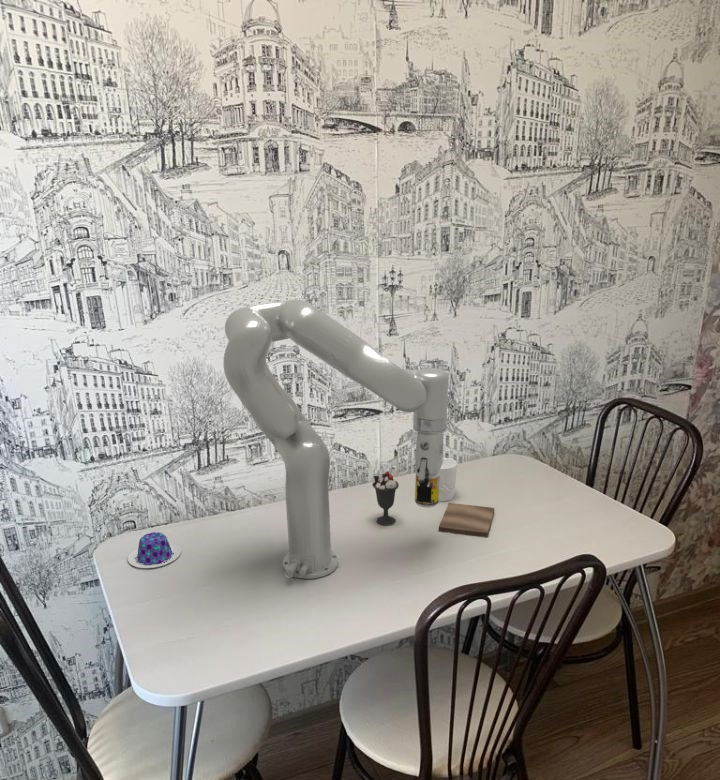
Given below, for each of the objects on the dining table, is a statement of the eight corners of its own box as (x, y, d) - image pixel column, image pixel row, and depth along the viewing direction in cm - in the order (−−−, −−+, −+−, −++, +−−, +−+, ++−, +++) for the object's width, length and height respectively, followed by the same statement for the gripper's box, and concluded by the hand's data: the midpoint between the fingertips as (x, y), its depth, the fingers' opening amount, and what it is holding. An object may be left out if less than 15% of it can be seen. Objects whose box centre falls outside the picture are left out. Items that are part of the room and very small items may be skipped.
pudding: (136, 576, 153) (133, 555, 151) (122, 554, 162) (119, 534, 161) (188, 560, 159) (186, 540, 157) (171, 539, 168) (169, 520, 167)
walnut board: (487, 537, 165) (487, 532, 165) (438, 531, 169) (438, 526, 169) (494, 512, 178) (494, 507, 178) (448, 506, 182) (448, 502, 181)
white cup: (428, 489, 192) (428, 456, 190) (456, 490, 191) (456, 457, 188) (426, 502, 185) (426, 467, 182) (456, 503, 184) (456, 468, 181)
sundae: (403, 523, 173) (403, 469, 169) (379, 529, 171) (378, 473, 166) (392, 513, 179) (392, 459, 175) (369, 518, 177) (368, 464, 172)
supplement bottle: (411, 506, 159) (413, 465, 156) (418, 497, 164) (420, 457, 161) (434, 510, 157) (436, 468, 154) (441, 500, 162) (443, 460, 159)
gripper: (438, 436, 146) (435, 513, 151) (452, 413, 162) (449, 484, 167) (404, 432, 148) (402, 509, 153) (421, 410, 164) (419, 480, 169)
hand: (426, 495), depth 160 cm, fingers closed on supplement bottle, 5 cm apart
